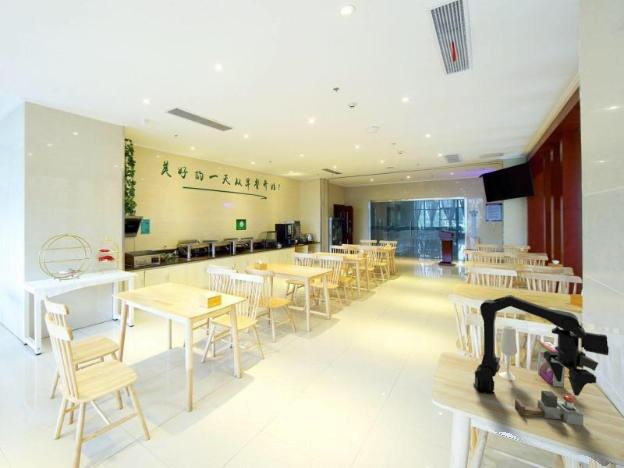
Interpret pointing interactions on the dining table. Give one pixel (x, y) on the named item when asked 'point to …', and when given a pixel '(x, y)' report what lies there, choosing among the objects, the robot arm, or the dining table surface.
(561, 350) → the robot arm
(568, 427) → the dining table surface
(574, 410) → the button housing
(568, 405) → the red plunger button
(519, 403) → the rail
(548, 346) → the candy bar box
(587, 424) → the dining table surface
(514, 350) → the champagne flute
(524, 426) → the dining table surface
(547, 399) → the carriage
